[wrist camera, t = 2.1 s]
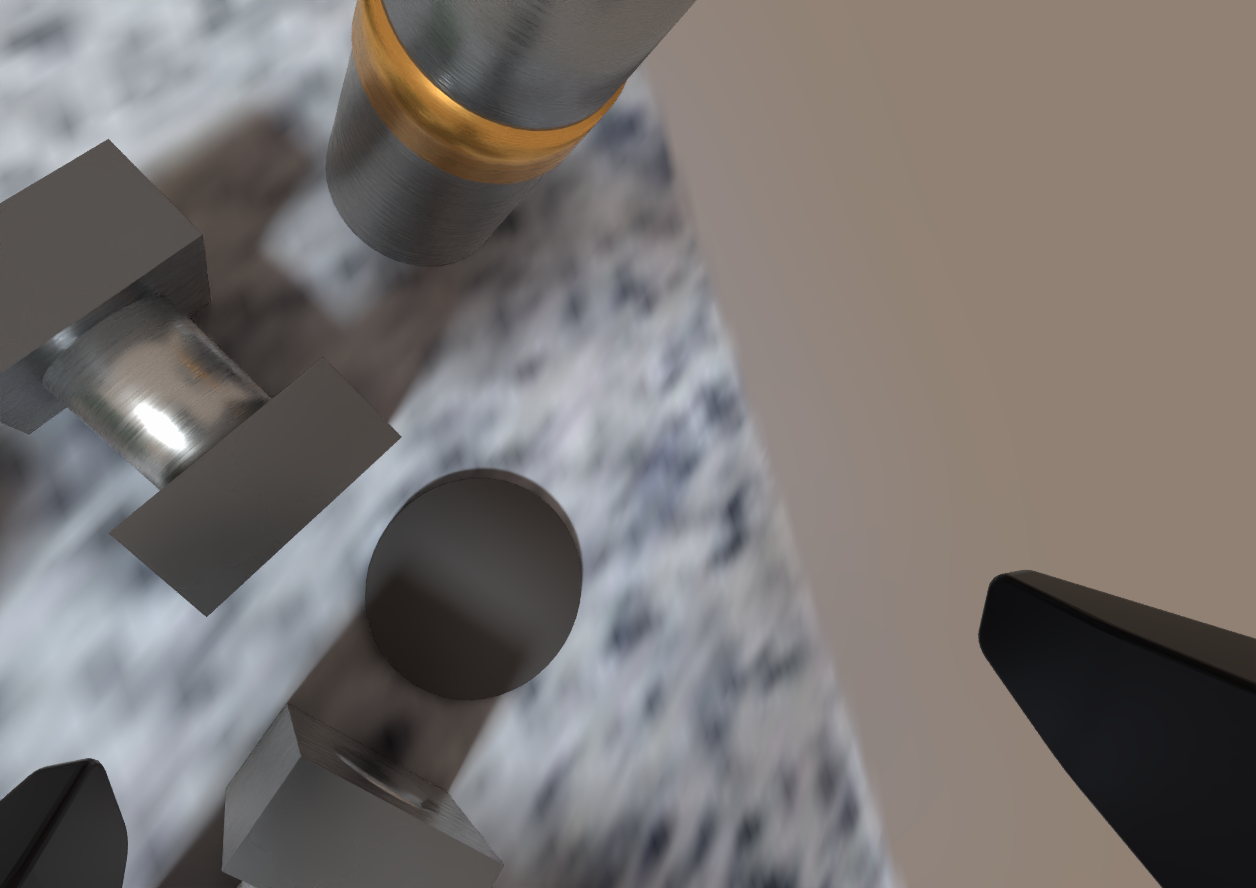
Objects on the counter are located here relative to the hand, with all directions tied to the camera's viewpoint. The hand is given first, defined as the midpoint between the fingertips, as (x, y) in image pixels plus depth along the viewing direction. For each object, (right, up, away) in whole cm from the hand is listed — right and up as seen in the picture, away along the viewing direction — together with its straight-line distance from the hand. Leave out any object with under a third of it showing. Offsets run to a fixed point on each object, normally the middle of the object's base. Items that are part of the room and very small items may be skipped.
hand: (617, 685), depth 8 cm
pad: (-4, -1, +12) cm, 12 cm away
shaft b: (-10, +3, +9) cm, 14 cm away
